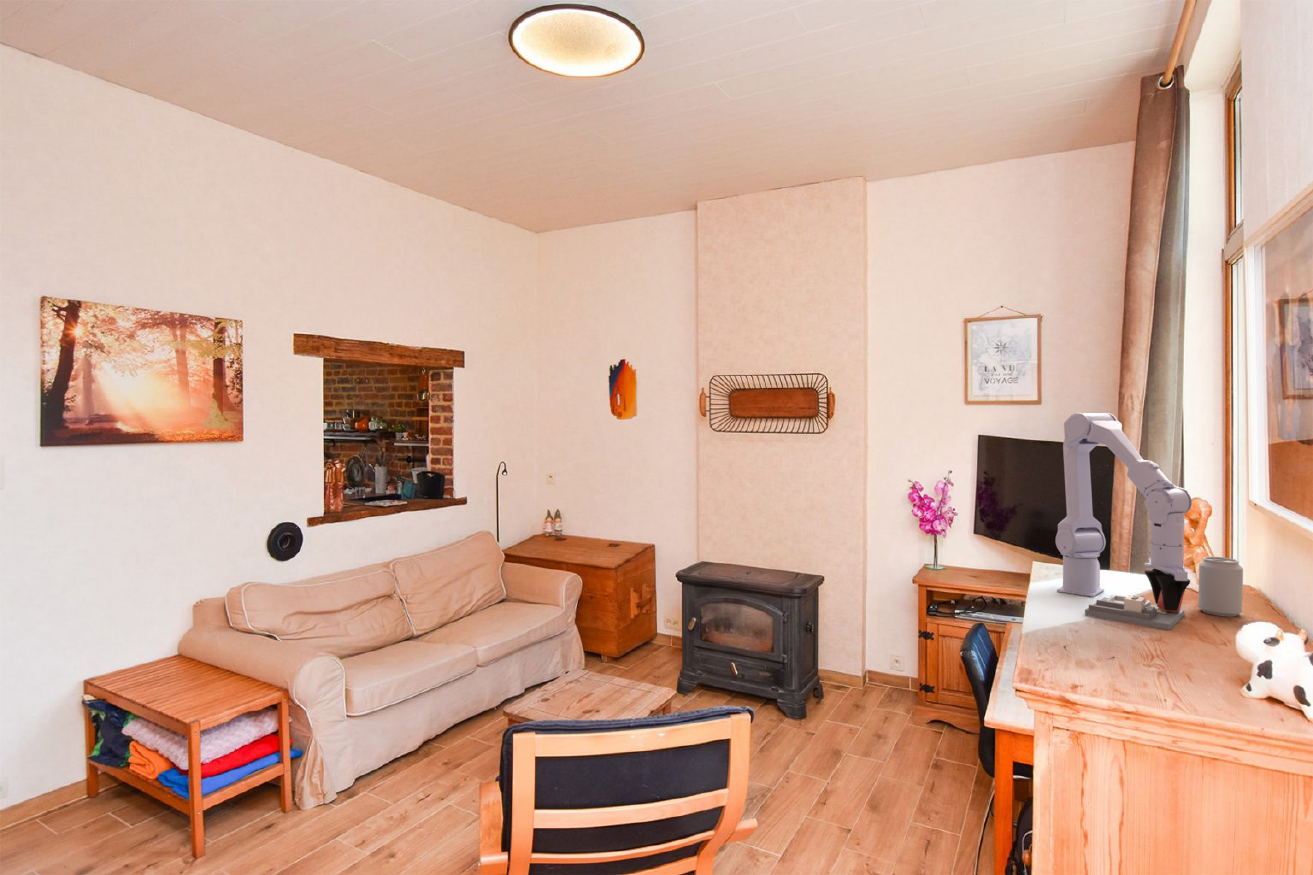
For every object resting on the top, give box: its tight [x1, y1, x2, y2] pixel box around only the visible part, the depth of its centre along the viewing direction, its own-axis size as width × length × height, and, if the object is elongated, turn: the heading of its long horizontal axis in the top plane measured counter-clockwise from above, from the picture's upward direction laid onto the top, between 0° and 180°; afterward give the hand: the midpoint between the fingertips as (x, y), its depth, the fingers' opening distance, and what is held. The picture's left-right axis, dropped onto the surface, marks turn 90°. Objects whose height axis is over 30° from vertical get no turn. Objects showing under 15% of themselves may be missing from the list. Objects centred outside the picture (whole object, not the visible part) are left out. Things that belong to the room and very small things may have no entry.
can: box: [1197, 556, 1244, 618], centre depth 154 cm, size 8×8×12 cm
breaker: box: [1124, 595, 1147, 613], centre depth 149 cm, size 4×3×3 cm
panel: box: [1084, 594, 1185, 631], centre depth 152 cm, size 15×15×3 cm
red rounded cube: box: [1156, 590, 1186, 613], centre depth 151 cm, size 4×4×5 cm
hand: (1166, 607), depth 151 cm, fingers closed on red rounded cube, 4 cm apart
